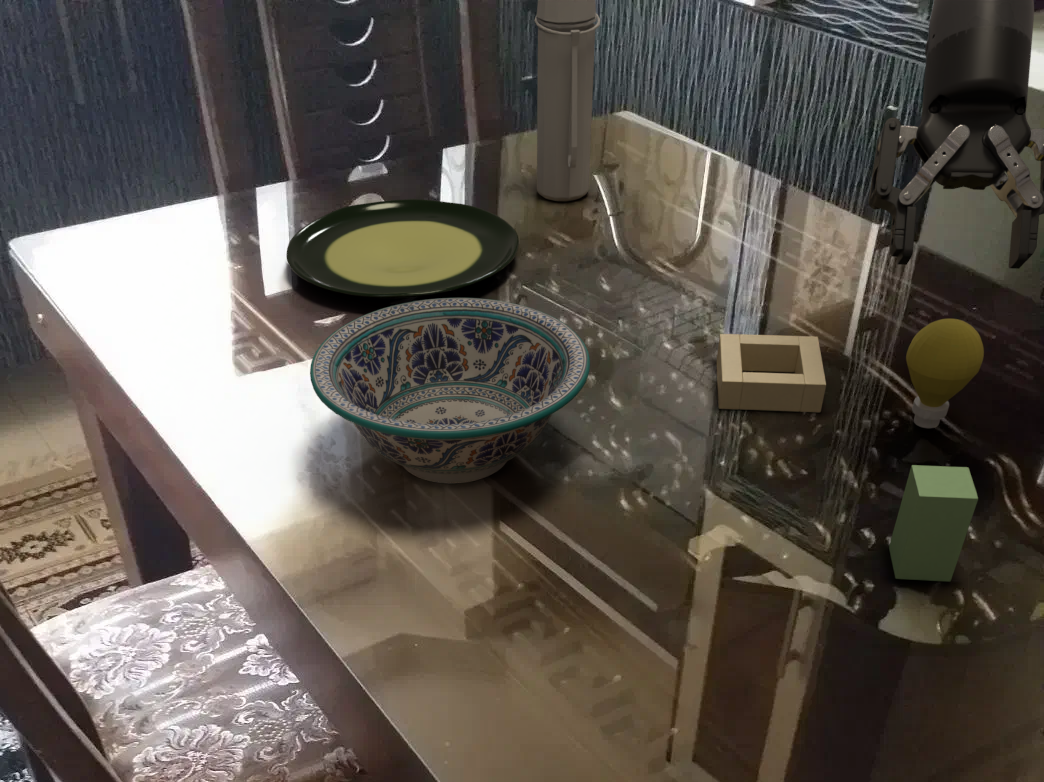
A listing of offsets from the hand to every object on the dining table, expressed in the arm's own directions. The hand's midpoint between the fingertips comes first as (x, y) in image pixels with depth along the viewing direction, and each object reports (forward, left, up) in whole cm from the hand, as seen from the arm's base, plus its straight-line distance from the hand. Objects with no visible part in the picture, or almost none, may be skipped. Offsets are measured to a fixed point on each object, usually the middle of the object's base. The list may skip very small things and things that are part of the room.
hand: (961, 262), depth 89 cm
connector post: (0, +12, -20) cm, 23 cm away
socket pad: (+11, -17, -20) cm, 29 cm away
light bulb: (-4, -11, -20) cm, 24 cm away
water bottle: (+35, -66, -20) cm, 78 cm away
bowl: (+41, -2, -20) cm, 46 cm away
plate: (+53, -44, -20) cm, 72 cm away
